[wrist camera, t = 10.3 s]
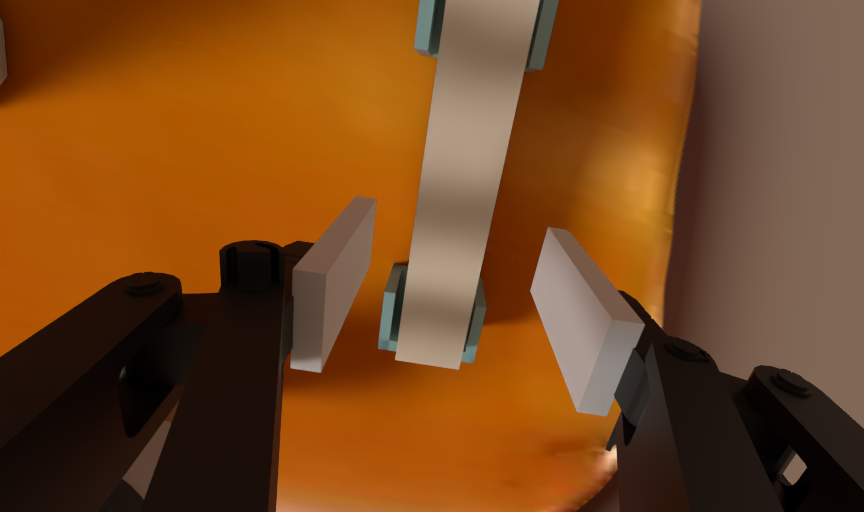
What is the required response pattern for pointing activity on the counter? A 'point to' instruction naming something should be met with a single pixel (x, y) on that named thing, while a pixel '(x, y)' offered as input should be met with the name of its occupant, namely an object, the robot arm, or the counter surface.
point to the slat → (462, 171)
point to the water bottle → (2, 55)
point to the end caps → (395, 289)
